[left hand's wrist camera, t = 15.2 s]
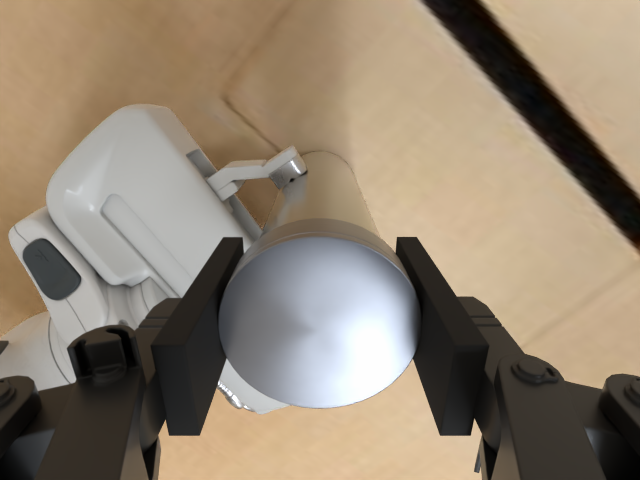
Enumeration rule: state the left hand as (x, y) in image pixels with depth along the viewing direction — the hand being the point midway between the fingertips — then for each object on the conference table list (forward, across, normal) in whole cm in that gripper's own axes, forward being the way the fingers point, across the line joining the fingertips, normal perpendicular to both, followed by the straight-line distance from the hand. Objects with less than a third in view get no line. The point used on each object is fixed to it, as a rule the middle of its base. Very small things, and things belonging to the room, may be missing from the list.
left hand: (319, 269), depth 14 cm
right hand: (+7, -1, 0) cm, 7 cm away
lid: (-4, 0, 0) cm, 4 cm away
